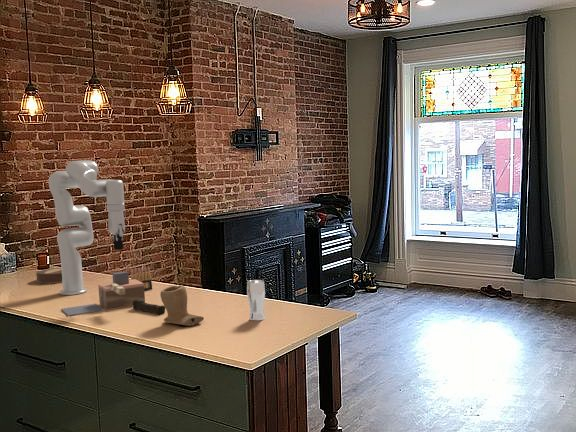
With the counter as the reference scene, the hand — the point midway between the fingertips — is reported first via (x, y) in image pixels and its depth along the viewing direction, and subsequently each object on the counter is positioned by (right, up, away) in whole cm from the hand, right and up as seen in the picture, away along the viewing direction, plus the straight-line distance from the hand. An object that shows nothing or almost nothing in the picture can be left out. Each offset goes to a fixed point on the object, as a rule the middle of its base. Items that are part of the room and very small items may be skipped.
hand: (118, 248), depth 280 cm
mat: (-14, -26, -6) cm, 30 cm away
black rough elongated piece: (+15, -26, -13) cm, 33 cm away
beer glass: (+63, -26, -32) cm, 75 cm away
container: (-52, -21, +66) cm, 86 cm away
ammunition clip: (+4, -22, +29) cm, 37 cm away
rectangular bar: (+4, -17, -16) cm, 24 cm away
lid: (+1, -18, +2) cm, 18 cm away
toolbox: (+1, -25, +3) cm, 25 cm away
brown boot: (+33, -28, -35) cm, 56 cm away
